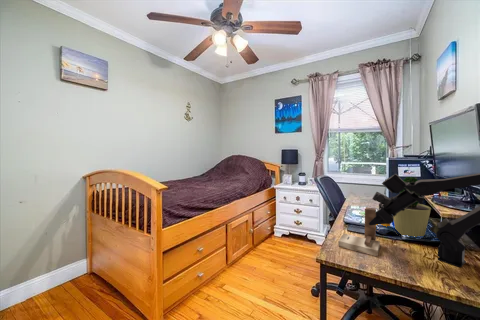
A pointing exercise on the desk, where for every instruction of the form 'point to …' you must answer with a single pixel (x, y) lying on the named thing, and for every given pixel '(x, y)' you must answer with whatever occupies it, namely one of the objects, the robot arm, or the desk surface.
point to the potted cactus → (412, 217)
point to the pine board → (359, 244)
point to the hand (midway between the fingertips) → (370, 221)
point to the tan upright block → (369, 229)
